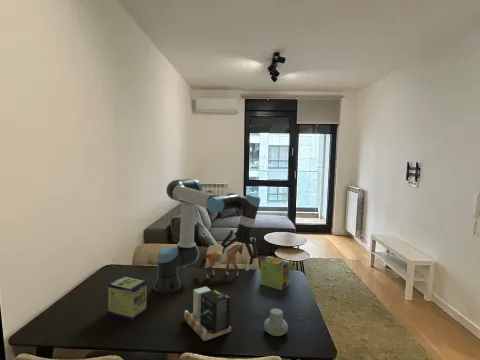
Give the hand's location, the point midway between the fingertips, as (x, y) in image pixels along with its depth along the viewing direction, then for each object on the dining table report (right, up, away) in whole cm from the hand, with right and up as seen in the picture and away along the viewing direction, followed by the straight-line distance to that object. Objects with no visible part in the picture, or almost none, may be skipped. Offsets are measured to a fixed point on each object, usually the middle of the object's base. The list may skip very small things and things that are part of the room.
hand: (234, 265), depth 153 cm
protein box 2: (+24, -23, +37) cm, 50 cm away
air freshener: (+19, -27, -15) cm, 36 cm away
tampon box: (-9, -24, -15) cm, 29 cm away
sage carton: (-16, -23, -5) cm, 28 cm away
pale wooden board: (-13, -25, -11) cm, 30 cm away
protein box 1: (-54, -23, -2) cm, 59 cm away
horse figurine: (-11, -21, +49) cm, 55 cm away
